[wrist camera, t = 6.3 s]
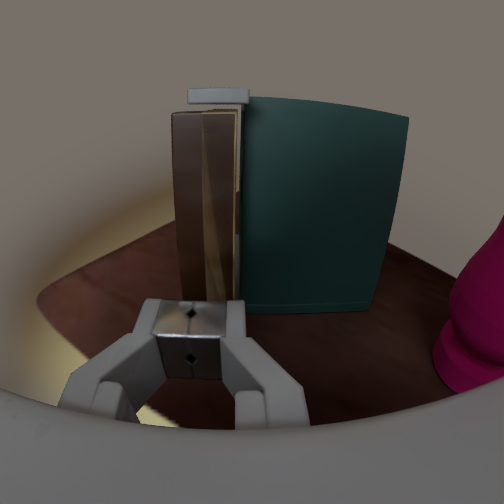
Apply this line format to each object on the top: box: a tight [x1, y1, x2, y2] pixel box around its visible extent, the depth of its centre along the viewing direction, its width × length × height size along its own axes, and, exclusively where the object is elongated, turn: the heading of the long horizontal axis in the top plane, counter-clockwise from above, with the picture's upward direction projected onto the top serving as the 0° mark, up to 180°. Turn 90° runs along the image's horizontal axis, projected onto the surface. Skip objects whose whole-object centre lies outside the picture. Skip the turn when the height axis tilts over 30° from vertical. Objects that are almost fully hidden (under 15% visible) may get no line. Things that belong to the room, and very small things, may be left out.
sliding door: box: [171, 109, 238, 301], centre depth 16 cm, size 2×7×11 cm, turn 2°
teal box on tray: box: [187, 88, 409, 314], centre depth 19 cm, size 11×15×13 cm
